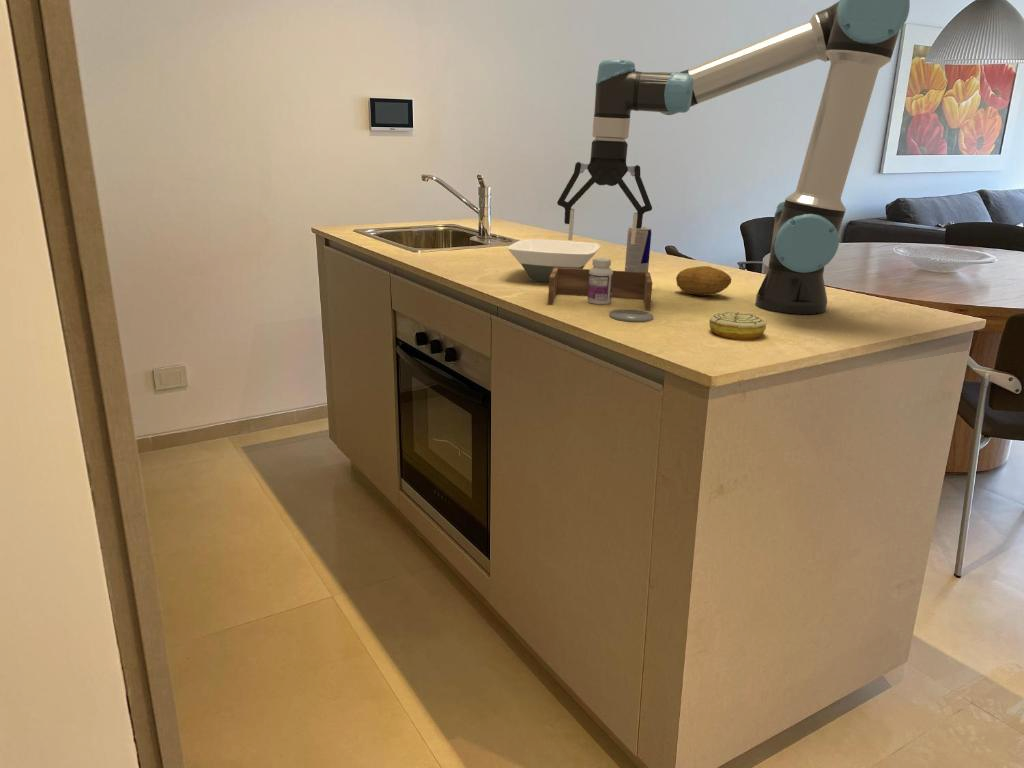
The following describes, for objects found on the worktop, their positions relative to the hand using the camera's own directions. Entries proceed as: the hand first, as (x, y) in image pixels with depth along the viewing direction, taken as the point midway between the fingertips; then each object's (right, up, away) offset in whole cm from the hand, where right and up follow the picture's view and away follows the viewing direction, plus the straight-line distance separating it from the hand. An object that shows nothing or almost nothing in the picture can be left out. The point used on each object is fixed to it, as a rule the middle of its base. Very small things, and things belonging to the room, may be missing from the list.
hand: (601, 241), depth 168 cm
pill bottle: (0, -13, +4) cm, 14 cm away
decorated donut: (+24, -22, -20) cm, 38 cm away
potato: (+26, -10, +16) cm, 32 cm away
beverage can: (+11, -8, +20) cm, 24 cm away
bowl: (-9, -4, +30) cm, 32 cm away
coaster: (+5, -17, -9) cm, 20 cm away
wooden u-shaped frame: (0, -13, +5) cm, 13 cm away
